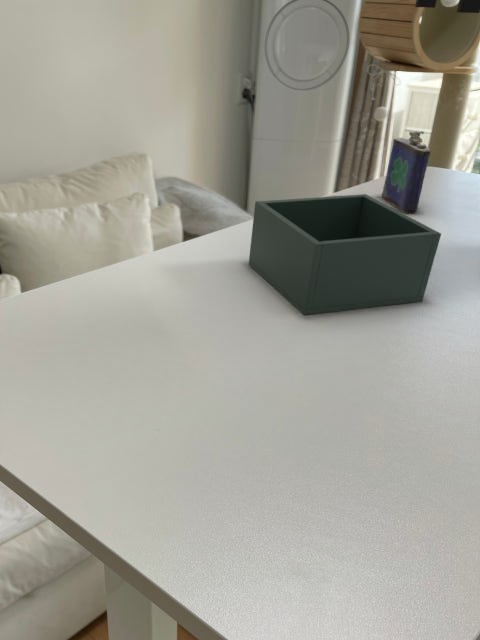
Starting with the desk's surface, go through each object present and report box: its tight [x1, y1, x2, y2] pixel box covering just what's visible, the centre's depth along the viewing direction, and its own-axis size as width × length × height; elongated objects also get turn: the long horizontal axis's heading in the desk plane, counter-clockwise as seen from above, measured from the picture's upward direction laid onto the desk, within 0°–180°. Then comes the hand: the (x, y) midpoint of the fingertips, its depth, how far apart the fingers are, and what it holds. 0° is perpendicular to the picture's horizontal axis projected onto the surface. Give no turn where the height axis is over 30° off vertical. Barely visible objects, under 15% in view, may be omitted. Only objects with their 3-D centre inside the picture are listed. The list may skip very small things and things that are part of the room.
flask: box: [381, 130, 432, 215], centre depth 98 cm, size 9×3×11 cm, turn 9°
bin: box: [248, 193, 442, 316], centre depth 73 cm, size 15×15×8 cm
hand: (445, 10), depth 90 cm, fingers open, 13 cm apart
